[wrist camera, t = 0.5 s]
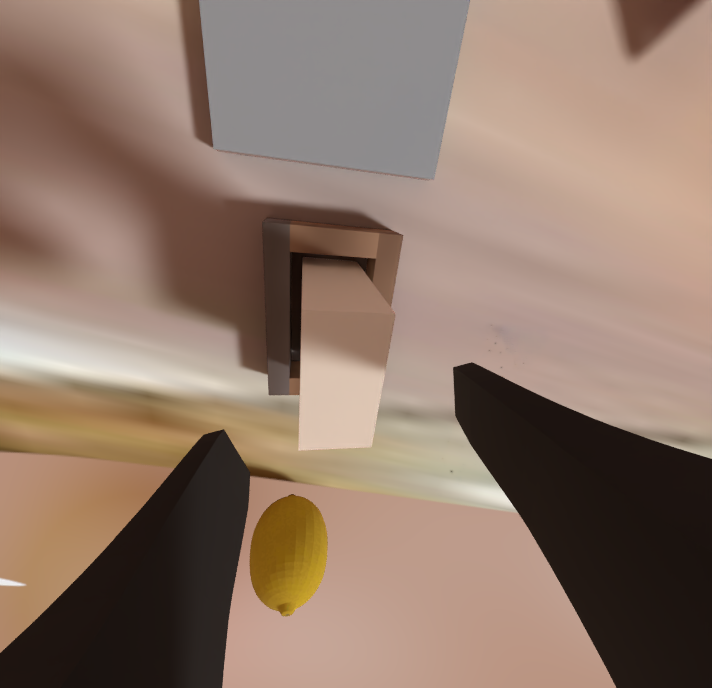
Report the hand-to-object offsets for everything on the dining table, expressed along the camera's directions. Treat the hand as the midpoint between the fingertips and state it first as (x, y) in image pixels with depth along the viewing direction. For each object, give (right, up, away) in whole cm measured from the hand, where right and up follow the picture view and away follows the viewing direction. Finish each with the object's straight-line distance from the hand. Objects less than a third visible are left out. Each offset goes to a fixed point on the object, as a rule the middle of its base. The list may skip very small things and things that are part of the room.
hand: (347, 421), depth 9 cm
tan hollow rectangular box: (-2, +4, +8) cm, 10 cm away
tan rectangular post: (-2, +5, +8) cm, 10 cm away
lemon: (-5, -11, +16) cm, 20 cm away
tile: (0, +15, +3) cm, 16 cm away
